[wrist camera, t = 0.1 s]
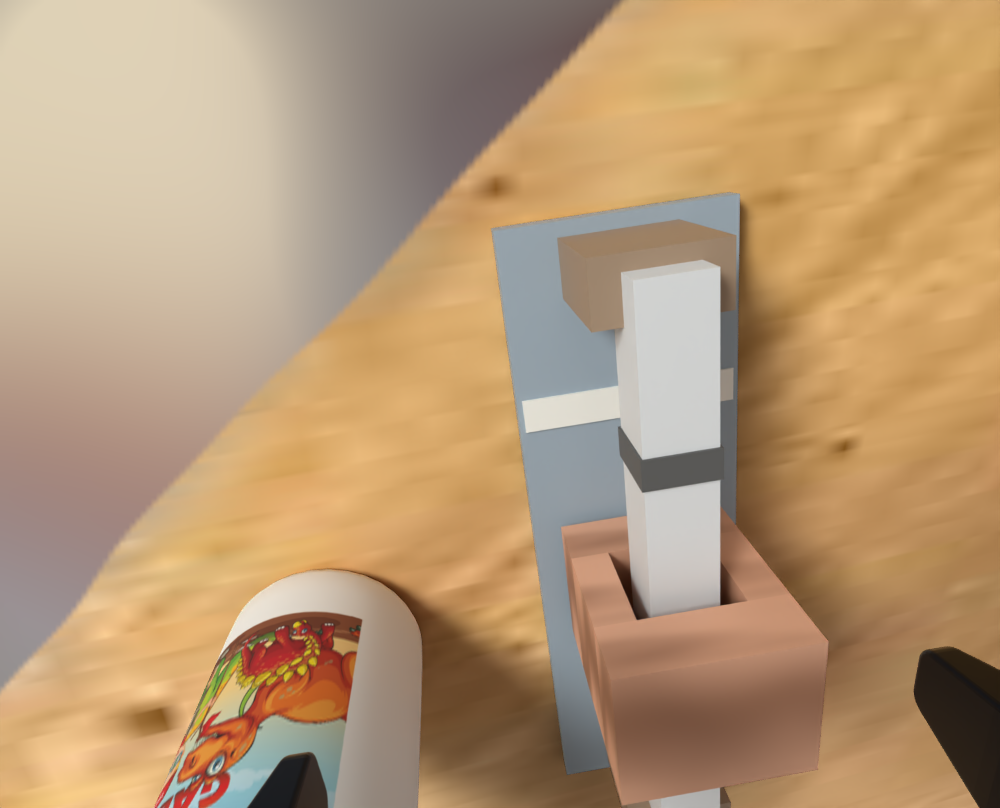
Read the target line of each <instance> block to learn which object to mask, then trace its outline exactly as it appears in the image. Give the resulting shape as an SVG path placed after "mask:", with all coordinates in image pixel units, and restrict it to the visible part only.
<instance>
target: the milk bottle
mask: <svg viewBox="0 0 1000 808" xmlns="http://www.w3.org/2000/svg"><path fill="white" fill-rule="evenodd" d="M421 697H422V638H421V633H420V629H419V627H418V624H417V622H416V620H415V618H414V616H413V614H412V613H411V611H410V610H409V608H408V607H407V605H406V604H405V602H404V601H402V600H401V599H400V598H399V597H398V596H397V594H396V593H395V592H394V591H392V590H391V589H389V588H387V587H386V586H385V585H383V584H382V583H381V582H378V581H376V580H373V579H371V578H369V577H367V576H365V575H361V574H357V573H353V572H350V571H344V570H333V569H323V570H309V571H305V572H301V573H296V574H292V575H290V576H287V577H285V578H283V579H280V580H278V581H276V582H274V583H273V584H271V585H270V586H268V587H267V588H265V589H263V590H262V591H261V592H259V593H258V594H257V595H255V596H254V597H253V598H252V599H251V600H250V601H249V602H248V603H247V604H246V605H245V607H244V608H243V609H242V611H241V612H240V614H239V616H238V617H237V619H236V621H235V623H234V625H233V627H232V630H231V632H230V634H229V636H228V638H227V640H226V642H225V645H224V647H223V649H222V651H221V654H220V656H219V658H218V660H217V663H216V665H215V667H214V670H213V672H212V674H211V676H210V679H209V681H208V683H207V686H206V688H205V690H204V693H203V695H202V697H201V699H200V702H199V704H198V706H197V709H196V711H195V713H194V716H193V718H192V720H191V723H190V725H189V727H188V729H187V732H186V734H185V736H184V739H183V741H182V743H181V746H180V748H179V750H178V753H177V755H176V757H175V760H174V762H173V764H172V767H171V769H170V771H169V774H168V776H167V778H166V781H165V783H164V786H163V788H162V790H161V793H160V795H159V797H158V800H157V802H156V804H155V807H154V808H247V807H248V805H249V804H250V803H251V801H252V800H253V798H254V797H255V796H256V794H257V793H258V791H259V790H260V788H261V787H262V786H263V784H264V783H265V781H266V780H267V779H268V777H269V776H270V774H271V773H272V772H273V770H274V769H275V767H276V766H277V764H278V763H279V762H280V760H281V759H283V758H284V757H285V756H287V755H291V754H297V753H303V752H312V753H313V754H314V755H315V756H316V759H317V762H318V765H319V768H320V771H321V774H322V777H323V780H324V783H325V786H326V790H327V795H328V808H418V788H419V759H420V729H421Z"/></svg>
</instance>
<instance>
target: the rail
mask: <svg viewBox="0 0 1000 808" xmlns="http://www.w3.org/2000/svg"><path fill="white" fill-rule="evenodd" d="M739 221H740V194H737V193H730V192H728V193H722V194H715V195H708V196H702V197H695V198H689V199H682V200H675V201H669V202H662V203H655V204H649V205H642V206H636V207H629V208H622V209H616V210H609V211H603V212H596V213H589V214H583V215H576V216H569V217H563V218H556V219H550V220H543V221H536V222H530V223H523V224H517V225H510V226H503V227H497V228H491V230H492V237H493V245H494V252H495V259H496V267H497V274H498V281H499V289H500V296H501V303H502V311H503V318H504V325H505V333H506V340H507V347H508V355H509V362H510V369H511V376H512V384H513V391H514V398H515V406H516V413H517V420H518V428H519V435H520V442H521V450H522V457H523V464H524V472H525V479H526V486H527V494H528V501H529V508H530V516H531V523H532V530H533V538H534V545H535V552H536V560H537V567H538V574H539V582H540V589H541V596H542V604H543V611H544V618H545V626H546V633H547V640H548V647H549V655H550V662H551V669H552V677H553V684H554V691H555V699H556V706H557V713H558V721H559V728H560V735H561V743H562V750H563V757H564V763H565V768H566V773H567V775H569V774H575V773H580V772H586V771H592V770H597V769H603V768H608V767H610V769H611V772H612V776H613V779H614V775H613V771H612V768H611V764H610V761H609V757H608V754H607V750H606V746H605V743H604V739H603V736H602V732H601V729H600V725H599V721H598V718H597V714H596V711H595V707H594V704H593V700H592V696H591V693H590V689H589V686H588V682H587V679H586V675H585V672H584V668H583V664H582V661H581V657H580V654H579V650H578V647H577V643H576V639H575V636H574V632H573V627H572V618H571V610H570V601H569V592H568V584H567V575H566V566H565V558H564V549H563V540H562V532H561V527H563V526H569V525H575V524H581V523H587V522H593V521H599V520H604V519H610V518H616V517H622V516H627V524H628V539H629V554H630V569H631V584H632V599H633V613H634V615H635V617H636V620H641V619H647V618H653V617H658V616H664V615H670V614H676V613H681V612H687V611H693V610H699V609H704V608H710V607H716V606H720V506H721V507H722V508H723V510H724V511H725V512H726V513H727V515H728V516H729V517H730V518H731V520H732V521H733V522H734V523H735V525H736V471H737V388H738V304H739ZM614 783H615V787H616V790H617V794H618V797H619V801H620V805H621V808H731V802H730V800H729V798H728V795H727V793H726V791H725V789H724V787H721V788H715V789H710V790H704V791H699V792H693V793H688V794H682V795H677V796H672V797H666V798H661V799H655V800H650V801H644V802H639V803H633V804H628V805H622V804H621V800H620V796H619V793H618V789H617V786H616V782H615V779H614Z"/></svg>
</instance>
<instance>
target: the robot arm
mask: <svg viewBox="0 0 1000 808" xmlns="http://www.w3.org/2000/svg"><path fill="white" fill-rule="evenodd" d="M914 697H915V701H916V703H917V706H918V708H919V710H920V711H921V713H922V715H923V716H924V718H925V720H926V721H927V723H928V725H929V726H930V728H931V729H932V731H933V733H934V734H935V736H936V738H937V739H938V741H939V743H940V744H941V746H942V748H943V749H944V751H945V752H946V754H947V756H948V757H949V759H950V761H951V762H952V764H953V766H954V767H955V769H956V771H957V772H958V774H959V776H960V777H961V779H962V780H963V782H964V784H965V785H966V787H967V789H968V790H969V792H970V794H971V795H972V797H973V798H974V800H975V802H976V803H977V805H978V806H979V808H1000V670H999V669H997V668H995V667H993V666H991V665H989V664H987V663H985V662H983V661H981V660H979V659H977V658H975V657H973V656H971V655H969V654H967V653H965V652H963V651H961V650H959V649H956V648H954V647H940V648H934V649H928V650H925V651H923V652H922V653H921V655H920V657H919V662H918V668H917V674H916V679H915V685H914ZM247 808H328V795H327V790H326V786H325V783H324V780H323V777H322V774H321V771H320V768H319V765H318V762H317V759H316V756H315V755H314V754H313V753H312V752H303V753H297V754H291V755H287V756H285V757H284V758H283V759H281V760H280V762H279V763H278V764H277V766H276V767H275V769H274V770H273V772H272V773H271V774H270V776H269V777H268V779H267V780H266V781H265V783H264V784H263V786H262V787H261V788H260V790H259V791H258V793H257V794H256V796H255V797H254V798H253V800H252V801H251V803H250V804H249V805H248V807H247Z"/></svg>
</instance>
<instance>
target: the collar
mask: <svg viewBox="0 0 1000 808" xmlns="http://www.w3.org/2000/svg"><path fill="white" fill-rule="evenodd" d="M561 532H562V540H563V549H564V558H565V566H566V575H567V584H568V592H569V601H570V610H571V618H572V627H573V632H574V636H575V639H576V643H577V647H578V650H579V654H580V657H581V661H582V664H583V668H584V672H585V675H586V679H587V682H588V686H589V689H590V693H591V696H592V700H593V704H594V707H595V711H596V714H597V718H598V721H599V725H600V729H601V732H602V736H603V739H604V743H605V746H606V750H607V754H608V757H609V761H610V764H611V768H612V771H613V775H614V779H615V782H616V786H617V789H618V793H619V796H620V800H621V804H622V805H628V804H633V803H639V802H644V801H650V800H655V799H661V798H666V797H672V796H677V795H682V794H688V793H693V792H699V791H704V790H710V789H715V788H721V787H726V786H732V785H737V784H743V783H748V782H753V781H759V780H764V779H770V778H775V777H781V776H786V775H792V774H797V773H803V772H808V771H814V770H818V760H819V748H820V737H821V725H822V714H823V702H824V691H825V679H826V668H827V657H828V645H829V642H828V640H827V639H826V638H825V637H824V635H823V634H822V633H821V632H820V630H819V629H818V628H817V627H816V625H815V624H814V623H813V622H812V620H811V619H810V618H809V616H808V615H807V614H806V613H805V611H804V610H803V609H802V608H801V606H800V605H799V604H798V603H797V601H796V600H795V599H794V598H793V596H792V595H791V594H790V593H789V591H788V590H787V589H786V588H785V586H784V585H783V584H782V583H781V581H780V580H779V579H778V578H777V576H776V575H775V574H774V573H773V571H772V570H771V569H770V567H769V566H768V565H767V564H766V562H765V561H764V560H763V559H762V557H761V556H760V555H759V554H758V552H757V551H756V550H755V549H754V547H753V546H752V545H751V544H750V542H749V541H748V540H747V539H746V537H745V536H744V535H743V534H742V532H741V531H740V530H739V529H738V527H737V526H736V525H735V523H734V522H733V521H732V520H731V518H730V517H729V516H728V515H727V513H726V512H725V511H724V510H723V508H722V507H721V506H720V606H716V607H710V608H704V609H699V610H693V611H687V612H681V613H676V614H670V615H664V616H658V617H653V618H647V619H641V620H636V617H635V615H634V613H633V599H632V584H631V569H630V554H629V539H628V524H627V516H622V517H616V518H610V519H604V520H599V521H593V522H587V523H581V524H575V525H569V526H563V527H561Z"/></svg>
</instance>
